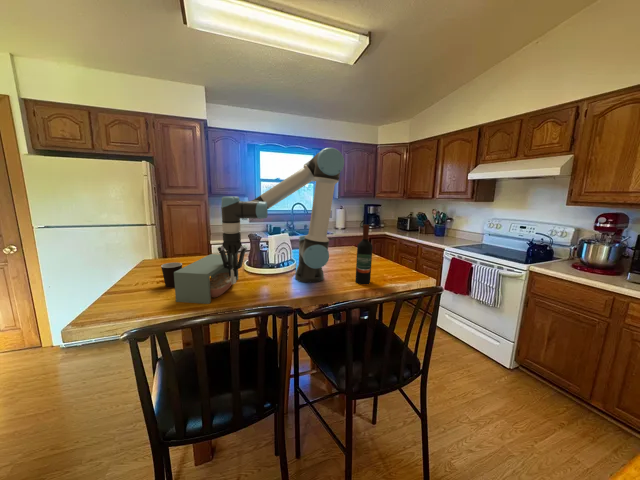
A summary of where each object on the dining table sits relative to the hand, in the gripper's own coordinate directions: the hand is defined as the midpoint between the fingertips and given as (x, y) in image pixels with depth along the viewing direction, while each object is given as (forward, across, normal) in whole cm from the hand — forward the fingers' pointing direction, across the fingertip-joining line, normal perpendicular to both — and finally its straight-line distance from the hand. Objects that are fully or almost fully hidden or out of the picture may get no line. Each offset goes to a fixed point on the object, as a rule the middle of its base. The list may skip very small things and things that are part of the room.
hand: (233, 283), depth 123 cm
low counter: (+3, +11, 0) cm, 12 cm away
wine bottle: (+4, -60, -21) cm, 64 cm away
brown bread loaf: (+4, +6, +1) cm, 7 cm away
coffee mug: (+4, +30, -3) cm, 30 cm away
